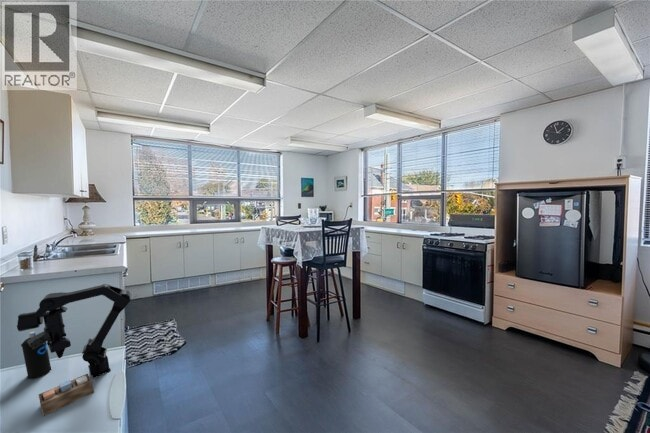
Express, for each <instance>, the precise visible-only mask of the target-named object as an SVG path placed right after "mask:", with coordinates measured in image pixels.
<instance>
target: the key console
mask: <svg viewBox="0 0 650 433" xmlns="http://www.w3.org/2000/svg"><path fill="white" fill-rule="evenodd" d="M84 375H86V377H87V380H88V381H87V382H84V383H82V384H80V385H78V386H77V384H76V379H77V378H80V377H82V376H84ZM82 376H81V375H80V376H79V377H76V378H74V379H72V380H71V379H70V381H71V384H72V388H71V389H69V390H66V391H64V392H62V393H61V391H60V385H58V386H55V387H53V388H51V389H54V391H55V396H53V397H50V398H48V399H46V400H44V398H43V393H44V392H47V391H49V390H51V389H49V390H46V391H44V392H41V393H39V394H38V399H39V404H40V407H41V408H40V409H41V412H42V414H43V417H45V416H47V415H49V414H52V413H54V412H56V411H58V410H60V409H63V408H64V407H66V406H69V405H71V404H73V403H75V402H77V401H79V400H81V399H84V398H85V397H88V396H90V395H93V394H94V392H95V391H94V386H93V381H92V379H91V377H90V376H89V374H88V373H85V374H83V375H82Z"/></svg>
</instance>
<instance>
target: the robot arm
mask: <svg viewBox="0 0 650 433" xmlns="http://www.w3.org/2000/svg"><path fill="white" fill-rule="evenodd" d="M131 295H132V294H131V292H130V291H129V290H128V289H121V288H119V287H117V286H113V285H110V284H108V283H103V284H100V285H95V286H92V287H88V288H83V289H78V290H74V291H70V292H69V291H68V292H63V291H62V292H51V293H47V294H46V295H45V296H43V298H42V300H40V302H39V304H38V305H39V306H38V307H39V308H38V309H36V311H30V312H26V313H24V312H23V313H20V314H18V316H17V325H16V328H17V331H18V332H23V331H27V330H33V329H37V328H40V326H41V325H43V324H44V328H43V331H41V332H39V333H38V334H36V336H34V337H32V338H30V337H29V338H30V339H29V340H28V341H27V342H28V344H29V345H30V346H31V348H32V349H36V348H37V347H38V346H40V345H42V344H43V343H45V342H46V344H47V348H49V351H50V353H51V354H52V353H56V356H57V357H58V359H61V358H62V357H63V356H64V353H65V350H66V349H67V348H70V347H71V346H72V345H71V340H70V339H69V338H68V337H67V333H66V331H65V327H66V326H65V323H64V319H63V313H66V312H67V310H68V307H66V306H65V305H67V304H70V303H75V302H79V301H83V300H88V299H91V298H95V297H98V296H103V297H106V298H107V299H109V300H110V301H112V302H113V304H112V307H111V309H110V311H109V313H108V314H107V316H106V317H105V319H104V321H103V323H102V324H101V326H100V328H99V330H98V331H97V332H96V335H95V336H94V337H93V338H92V339H91V338H88V340H87V343H86V344H85V345H84V347H83V349H82V352H81V354H82V357H81V358H82V359H83V361H85V362H86V363H88V371H89V372H88V373H89V375H90V376H92V378H93V379H96V378H97V377H100V376H101V375H104V374H107V373H109V372H111V371H112V370H111V368H110V364H109V357H108V355H107V351H108V349H107V348H106V347H103V343H104V341H105V339H106V338H107V336H108V335H109V333H110V331H111V328H112V327H113V325H115V324H114V323H115V322H116V320H117V319H118V317H119V315H120V313H121V312H122V311H124V310H125V308H126V307H127V306H128V305H129V303H130V301H131Z"/></svg>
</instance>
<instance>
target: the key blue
mask: <svg viewBox="0 0 650 433" xmlns="http://www.w3.org/2000/svg"><path fill="white" fill-rule="evenodd" d="M58 386H60V391H61V393H62V392H64V391H66V390H69V389H71V388H72V384H71V379H68V380H64V381H63V382H60V383H59V384H58Z"/></svg>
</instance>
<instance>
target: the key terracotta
mask: <svg viewBox="0 0 650 433" xmlns="http://www.w3.org/2000/svg"><path fill="white" fill-rule="evenodd" d="M46 391H47V392H46ZM46 391H44V393H43V392H42V393H43V398H44V400H46V399H48V398H50V397H53V396H55V391H54V389H53V388H51V390H50V389H49V391H48V390H46Z"/></svg>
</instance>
